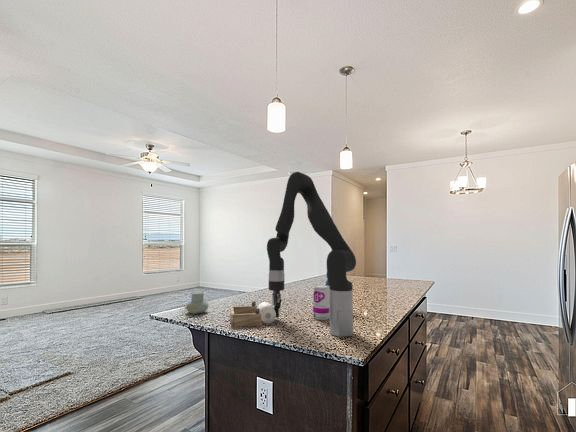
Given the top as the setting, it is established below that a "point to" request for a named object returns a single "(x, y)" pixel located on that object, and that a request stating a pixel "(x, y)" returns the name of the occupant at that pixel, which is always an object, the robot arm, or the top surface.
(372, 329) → the top surface
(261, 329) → the top surface
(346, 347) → the top surface
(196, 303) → the air freshener
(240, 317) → the holder
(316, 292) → the supplement can
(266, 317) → the roll
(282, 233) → the robot arm
